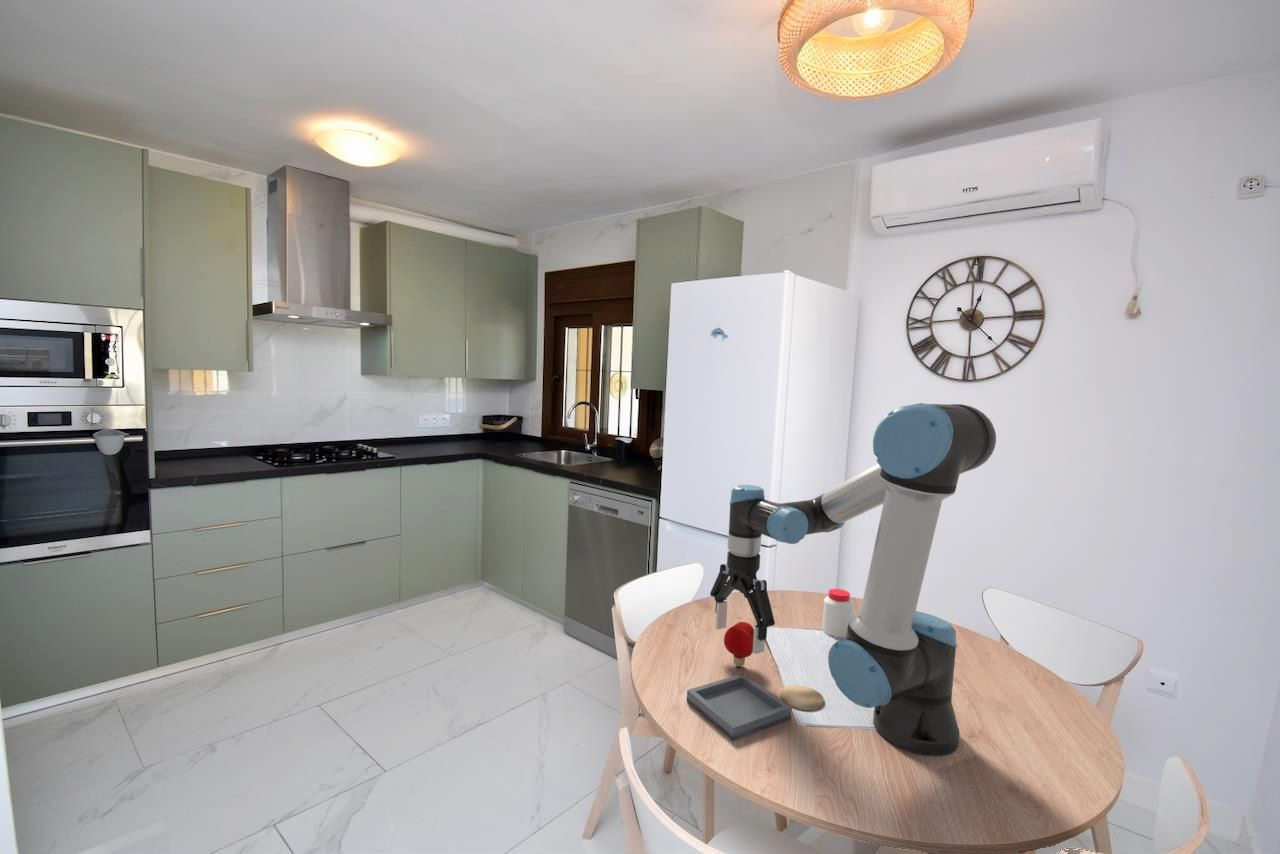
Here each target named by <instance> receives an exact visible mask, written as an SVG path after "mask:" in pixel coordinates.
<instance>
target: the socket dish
mask: <svg viewBox="0 0 1280 854" xmlns="http://www.w3.org/2000/svg"><path fill="white" fill-rule="evenodd" d="M686 702H687V703H688V704H690V705H691V706H692V707H693V708H694V709H695V710H697V711H698V712H699V713H700V714H701V715H703V717H705V718H706V719H707V720H708V721H710V723H712V724H713V725H714V726H715V727H717V728H718V729H719V730H720V731H721V732H722V733H723V734H725V735H726V736H727V737H728V738H729V739H730V740H732V741H735V740H737V739H740V738H743V737H746V736H748V735H751V734H754V733H757V732H760V731H762V730H764V729H767V728H770V727H773V726H775V725H778V724H780V723H783V722H787V721H789V720H792V710H793V709H792V708H793V707H791V706H789V705H788V704H786V703H785V702H783V701H782V700H781V698H779V697H777V696H776V695H775V694H773V693H772V692H770V691H769V690H768V689H766V688H764V687H763V686H762V685H760V684H758V683H757V682H756V681H754V680H752V679H751V678H750V677H748V676H747V675H746V674H744V673H740V674H736V675H733V676H730V677H727V678H723V679H719V680H716V681H713V682H710V683H707V684H703V685H700V686H696V687H694V688H689V689H687V690H686Z"/></svg>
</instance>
